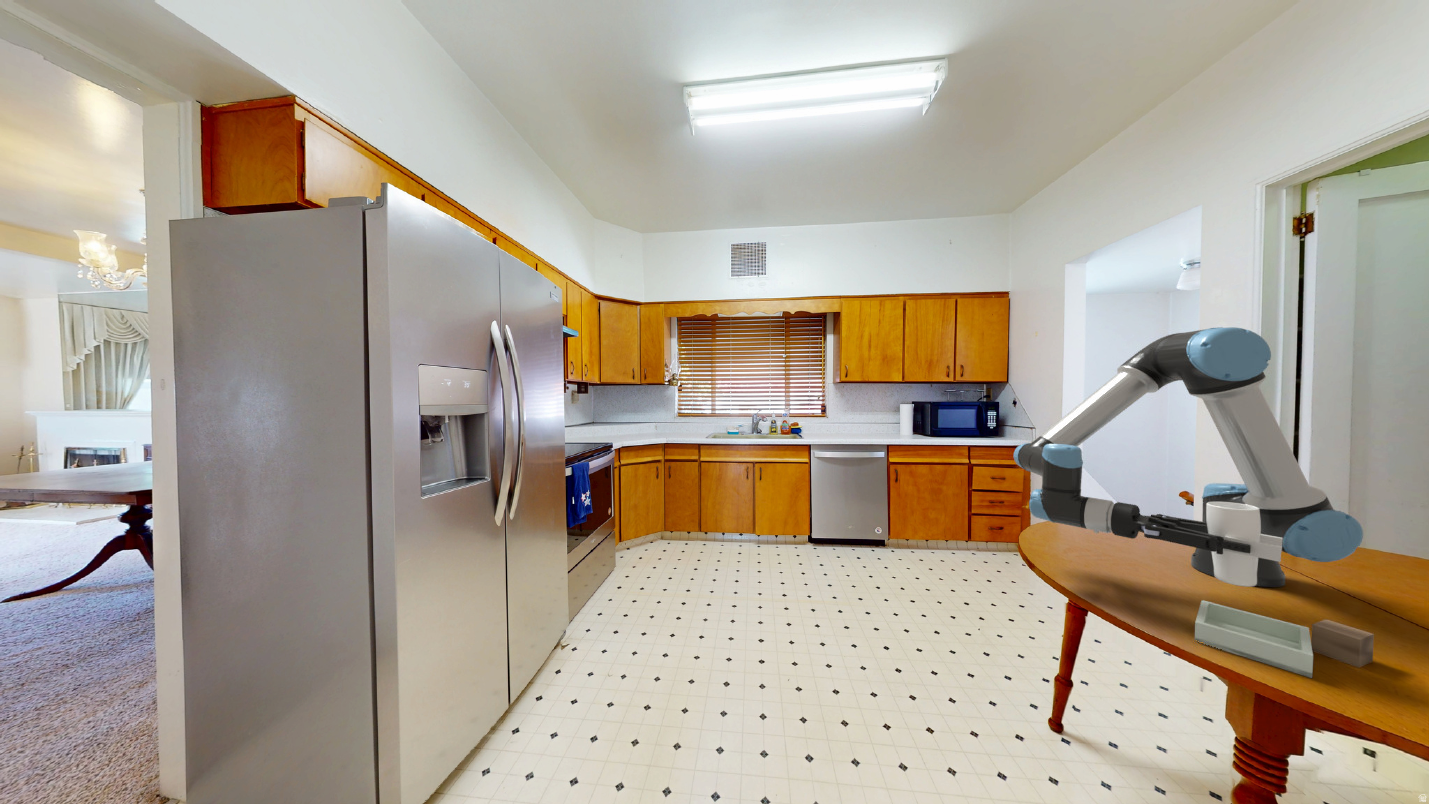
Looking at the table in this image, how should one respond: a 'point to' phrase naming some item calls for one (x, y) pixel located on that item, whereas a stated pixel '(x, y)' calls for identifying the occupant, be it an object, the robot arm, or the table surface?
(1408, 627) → the table surface
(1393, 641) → the table surface
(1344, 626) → the walnut block
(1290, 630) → the tray
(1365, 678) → the table surface
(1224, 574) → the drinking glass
